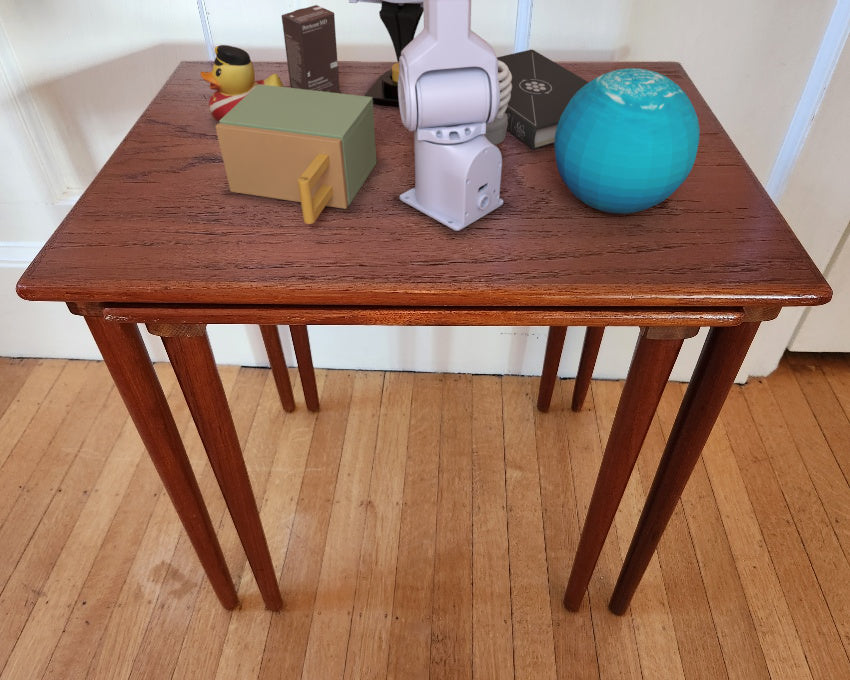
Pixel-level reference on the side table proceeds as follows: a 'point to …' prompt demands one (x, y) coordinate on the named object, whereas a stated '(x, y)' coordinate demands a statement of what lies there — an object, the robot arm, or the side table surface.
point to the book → (537, 96)
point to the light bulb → (500, 123)
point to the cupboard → (315, 122)
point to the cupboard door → (285, 167)
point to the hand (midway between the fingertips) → (404, 59)
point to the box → (311, 49)
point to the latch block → (384, 91)
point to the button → (395, 72)
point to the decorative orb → (626, 141)
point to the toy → (232, 79)
